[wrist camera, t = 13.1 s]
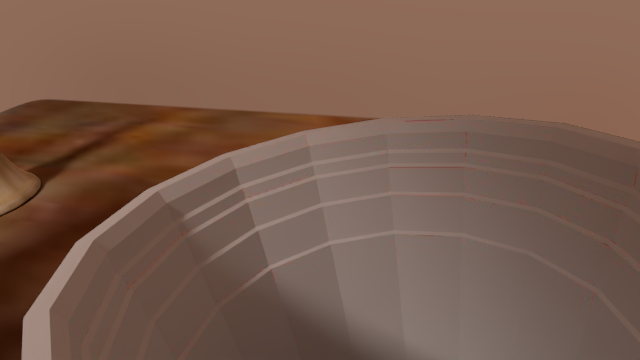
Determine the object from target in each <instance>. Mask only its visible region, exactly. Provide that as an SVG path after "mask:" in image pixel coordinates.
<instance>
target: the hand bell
mask: <svg viewBox="0 0 640 360" xmlns="http://www.w3.org/2000/svg"><path fill="white" fill-rule="evenodd" d="M40 186H41V181H40V179H39V178H38V177H37V176H35V175H34V174H32V173H30V172H27V171H23V170H21V169H19V168H18V167H16V166H15V165H14V164H12V163H11V162H10V161H9V160H8V159H7V158H6V157H5V156H4V155H3V153H2V152H1V151H0V216H1V215H3V214H5V213H8V212H9V211H11V210H13V209H15V208H17V207H19V206H20V205H22V204H23V203H25V202H26V201H27V200H28V199H30V198H31V197H33V196H34V195H35V194H36V192H37V191H38V190H39V188H40Z"/></svg>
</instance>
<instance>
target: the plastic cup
mask: <svg viewBox="0 0 640 360" xmlns="http://www.w3.org/2000/svg"><path fill="white" fill-rule="evenodd" d="M21 360H640V142H638V141H634V140H630V139H626V138H622V137H618V136H614V135H610V134H606V133H602V132H598V131H594V130H590V129H586V128H582V127H578V126H574V125H570V124H566V123H556V122H545V121H534V120H523V119H511V118H501V117H490V116H479V115H455V116H429V117H400V118H382V119H376V120H370V121H363V122H357V123H351V124H344V125H338V126H332V127H325V128H319V129H313V130H306V131H301V132H298V133H294V134H291V135H287V136H284V137H281V138H277V139H274V140H270V141H267V142H263V143H260V144H257V145H253V146H250V147H246V148H243V149H239V150H236V151H233V152H229V153H226V154H223V155H220V156H218V157H216V158H214V159H212V160H210V161H207V162H205V163H203V164H201V165H199V166H197V167H195V168H192V169H190V170H188V171H186V172H184V173H182V174H179V175H177V176H175V177H173V178H171V179H169V180H167V181H164V182H162V183H160V184H158V185H156V186H154V187H152V188H149V189H147V190H145V191H144V192H143V193H141V194H140V195H139V196H137V197H136V198H135V199H133V200H132V201H131V202H129V203H128V204H127V205H125V206H124V207H123V208H121V209H120V210H119V211H117V212H116V213H115V214H113V215H112V216H111V217H109V218H108V219H107V220H105V221H104V222H102V223H101V224H100V225H98V226H97V227H96V228H94V229H93V230H92V231H90V232H89V233H88V234H86V235H85V236H84V237H82V238H81V239H80V240H78V241H77V242H76V243H75V244H74V246H73V247H72V248H71V250H70V251H69V253H68V254H67V256H66V257H65V259H64V260H63V261H62V263H61V264H60V266H59V267H58V269H57V270H56V272H55V273H54V274H53V276H52V277H51V279H50V280H49V282H48V283H47V285H46V286H45V287H44V289H43V290H42V292H41V293H40V295H39V296H38V298H37V299H36V300H35V302H34V303H33V305H32V306H31V308H30V309H29V311H28V312H27V313H26V315H25V316H24V318H23V335H22V359H21Z"/></svg>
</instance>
